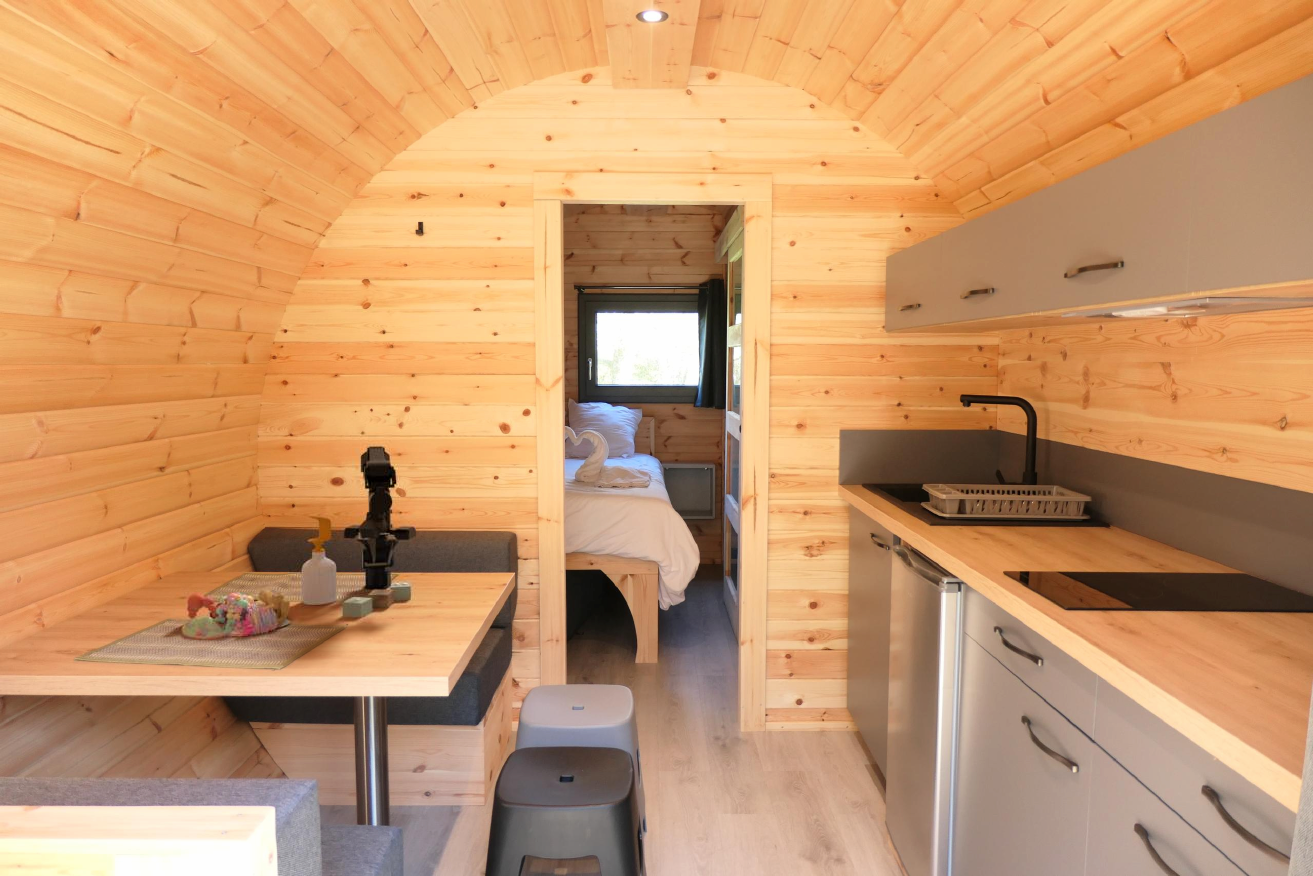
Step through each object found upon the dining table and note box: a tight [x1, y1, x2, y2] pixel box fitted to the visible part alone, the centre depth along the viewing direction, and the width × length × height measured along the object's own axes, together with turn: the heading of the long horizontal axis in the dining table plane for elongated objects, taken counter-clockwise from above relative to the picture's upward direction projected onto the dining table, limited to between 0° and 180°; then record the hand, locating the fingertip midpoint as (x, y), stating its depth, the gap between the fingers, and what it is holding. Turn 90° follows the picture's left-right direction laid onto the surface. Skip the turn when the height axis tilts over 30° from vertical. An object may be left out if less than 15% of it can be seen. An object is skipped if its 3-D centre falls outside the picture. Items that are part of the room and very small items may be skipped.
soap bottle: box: [301, 515, 338, 606], centre depth 237 cm, size 9×9×25 cm
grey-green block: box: [342, 596, 373, 619], centre depth 225 cm, size 6×6×4 cm
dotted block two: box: [389, 581, 412, 601], centre depth 242 cm, size 6×6×4 cm
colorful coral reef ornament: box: [181, 589, 291, 640], centre depth 214 cm, size 25×24×9 cm
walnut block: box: [367, 589, 395, 610], centre depth 234 cm, size 6×6×4 cm
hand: (380, 563), depth 233 cm, fingers open, 4 cm apart
